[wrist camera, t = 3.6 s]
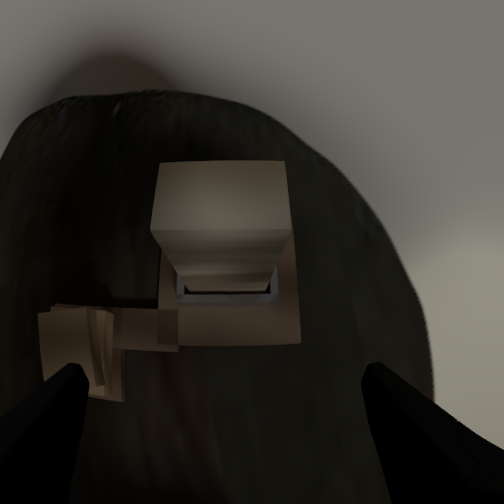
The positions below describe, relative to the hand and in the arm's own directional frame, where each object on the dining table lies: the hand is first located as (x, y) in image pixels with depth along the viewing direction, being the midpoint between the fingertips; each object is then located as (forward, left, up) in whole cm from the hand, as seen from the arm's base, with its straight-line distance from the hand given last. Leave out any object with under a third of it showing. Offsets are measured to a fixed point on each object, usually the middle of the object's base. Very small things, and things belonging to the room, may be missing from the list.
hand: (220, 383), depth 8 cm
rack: (+6, +2, -12) cm, 14 cm away
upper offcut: (+5, +10, -10) cm, 15 cm away
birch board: (+6, -3, -11) cm, 13 cm away
